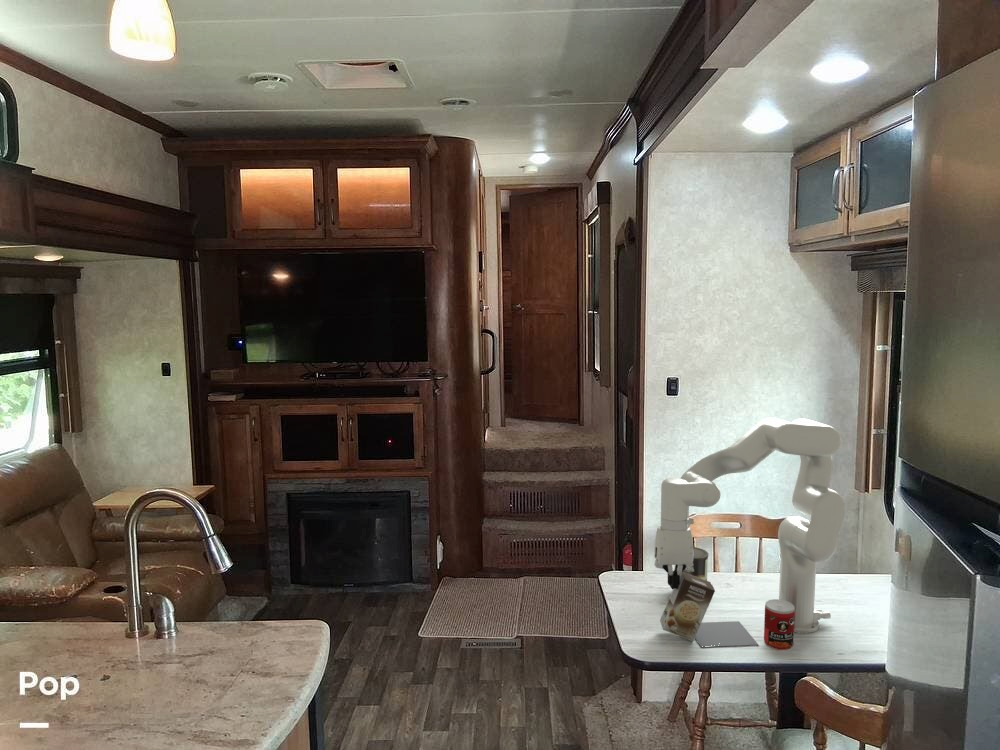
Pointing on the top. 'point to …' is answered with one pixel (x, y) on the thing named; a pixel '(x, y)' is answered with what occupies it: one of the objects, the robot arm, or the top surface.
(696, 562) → the coffee can
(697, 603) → the coffee box
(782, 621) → the canned food
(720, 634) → the mat
